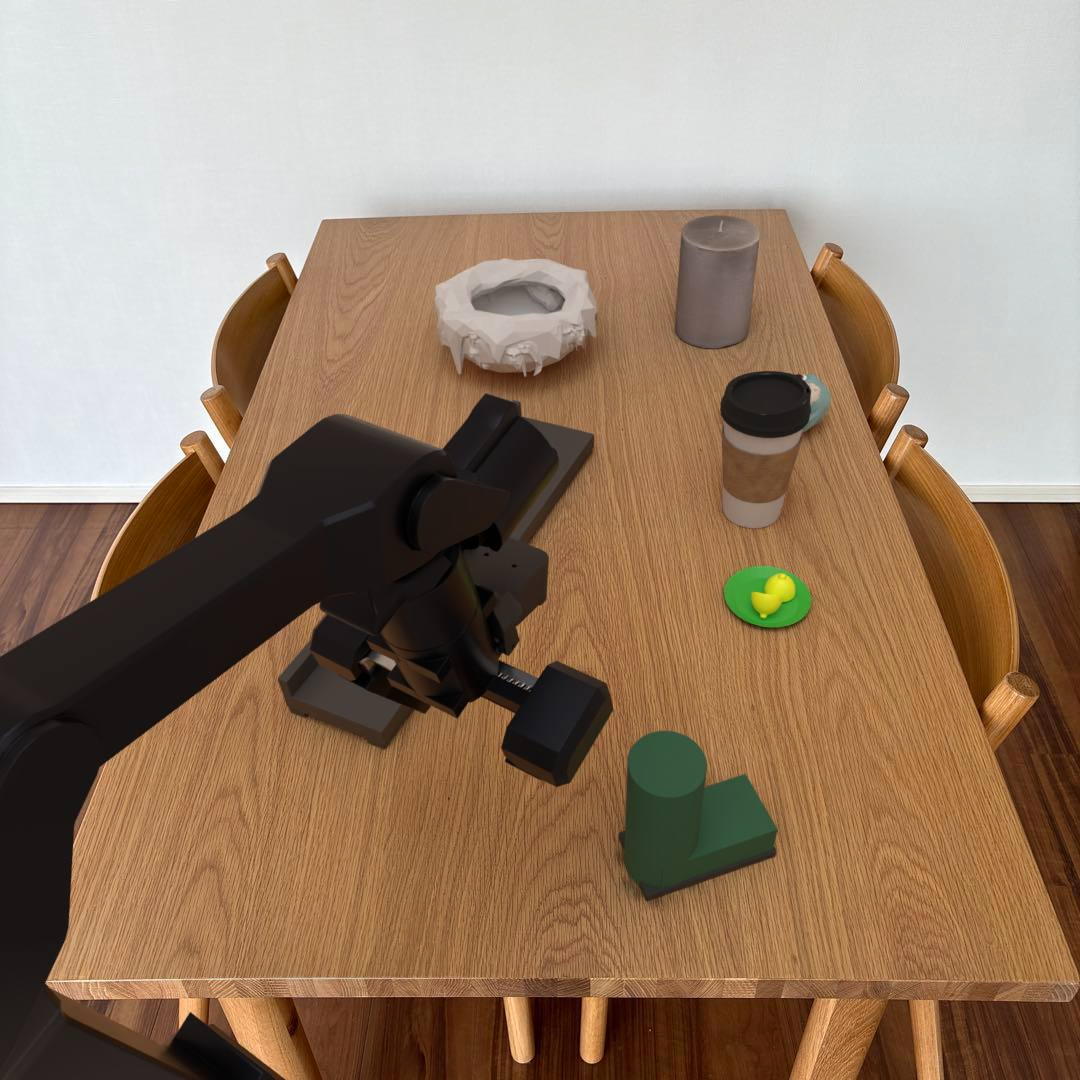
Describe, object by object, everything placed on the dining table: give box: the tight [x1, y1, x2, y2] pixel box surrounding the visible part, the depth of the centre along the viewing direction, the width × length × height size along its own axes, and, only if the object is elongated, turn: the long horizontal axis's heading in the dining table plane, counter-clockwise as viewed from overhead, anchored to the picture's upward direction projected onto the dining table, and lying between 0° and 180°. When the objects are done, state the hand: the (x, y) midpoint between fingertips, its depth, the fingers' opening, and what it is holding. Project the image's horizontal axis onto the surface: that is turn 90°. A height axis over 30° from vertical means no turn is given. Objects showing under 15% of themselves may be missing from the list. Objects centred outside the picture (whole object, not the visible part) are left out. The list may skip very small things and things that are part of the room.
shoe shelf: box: [277, 399, 595, 750], centre depth 94 cm, size 44×10×4 cm, turn 155°
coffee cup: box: [719, 370, 811, 529], centre depth 95 cm, size 8×8×15 cm
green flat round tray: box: [723, 565, 812, 628], centre depth 89 cm, size 8×8×3 cm
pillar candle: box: [674, 214, 761, 350], centre depth 121 cm, size 10×10×15 cm
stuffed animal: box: [782, 371, 832, 433], centre depth 109 cm, size 11×7×12 cm
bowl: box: [433, 257, 599, 378], centre depth 120 cm, size 21×20×10 cm
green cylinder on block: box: [618, 730, 779, 902], centre depth 68 cm, size 11×5×12 cm, turn 109°
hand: (482, 734), depth 64 cm, fingers open, 9 cm apart
